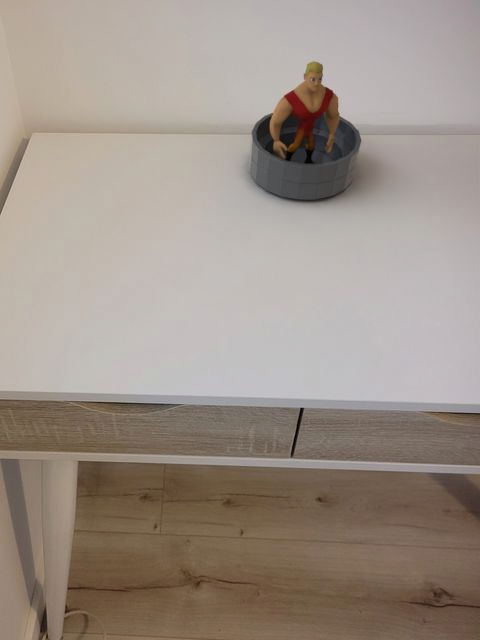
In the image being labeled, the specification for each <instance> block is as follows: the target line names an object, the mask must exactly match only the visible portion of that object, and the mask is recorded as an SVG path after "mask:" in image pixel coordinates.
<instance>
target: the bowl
mask: <svg viewBox="0 0 480 640" xmlns="http://www.w3.org/2000/svg"><path fill="white" fill-rule="evenodd" d="M324 113H325V112H324ZM324 113H323V114H322V115H321V116H320V117H319V118H318V119H316V120H315V121H314V127H313V143H314V148H315V149H314V152H313V154H312V157H311V159H312V161H313V162H314V163H315V164H305V163H304V162H305V159H306V150H305V145H306V143H307V140H306V136H304V138H303V140H302V142H301V144H300V145H299V147H298V148H297V150H296V152H295V153H294V154H293V155H292V157H291V161H286V152H287V151H285V150H284V149H283V148H282V149H283V153H284V156H285V159H281V158H280V157H279V156H278V155H277V154H276V153H275V152H274V150H273V145H274V140H273V138H272V136H271V133H270V121H271V118H272V115H273V112H271V113H268V114H266V115H264V116H263V117H262V118H260V119H259V120H258V121H256V122H255V124H254V126H253V128H252V130H251V136H250V147H249V158H248V159H249V160H248V167H249V168H248V170H249V174H250V176H251V177H252V179H253V180H254V182H255V183H256V184H258V185H259V186H260V187H262V188H263V189H264V190H266V191H267V192H269V193H272V194H275V195H276V196H279V197H283V198H289V199H293V200H319V199H323V198H329V197H332V196H334V195H336V194H338V193H339V194H340V193H341V192H343V191H344V190H345V189H346V188H347V187H348V186H349V185H350V184H351V183H352V181H353V178H354V175H355V170H356V169H355V168H356V165H357V162H358V158H359V153H360V149H361V144H362V137H361V133H360V131H359V129H358V128H357V127H356V126H354V124H353V123H352V122H350V120H347V119H345V118H344V117H343V116H341V115H340V120H339V124H338V127H337V130H336V132H335V134H334V136H335V139H334V143H333V145H332V150H331V152H330V153H327V151H325V149H324V148H325V147H326V146H328V145H327V142H328V140H329V134H330V131H329V129H328V126H327V123H326V120H325V115H324ZM298 125H299V120H298V118H296V117H295V116H292V115H289V116H288V117H287V118H286V120H285V121H284V122H283V124H282V126H281V131H280V135H279V140H280V141H281V142H282V143H283V144H284V145H285V146H286V147H287V149H288V147H289V146H290V145H291V144H293V143H294V142H295V138H296V134H297V128H298Z"/></svg>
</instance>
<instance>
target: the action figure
mask: <svg viewBox="0 0 480 640" xmlns="http://www.w3.org/2000/svg"><path fill="white" fill-rule="evenodd" d="M323 71H324V65H323V63H321V62H318V61H310V62H308V63H307V64H306V68H305V72H304V73H303V80H304V81H302V82H301V83H299V84H298V85H297V86H296V87H295V88H294V89H292V90H291V91H289V92H287V93H286V94H284V95H283V96H282V97H281V98H280V99H279V101H278V103H277V104H276V106H275V108H274V110H273V112H272V113H273V115H272V118H271V121H270V133H271V136H272V138H273V140H274V145H273V150H274V152H275V153H276V154H277V155H278V156H279V157H280V158H281V159H285V156H284V153H283V149H284V150H285V151H287V152H286V161H291V157H292V155H293V154H294V153H295V152H296V150H297V148H298V147H299V145H300V144H301V142H302V140H303V138H304V136H306V140H307V143H306V145H305V150H306V159H305V162H304V163H305V164H315V163H314V162H313V161H312V159H311V157H312V154H313V152H314V149H315V148H314V143H313V127H314V121H315V120H316V119H318V118H319V117H320V116H321V115H322V114H323V113H324V112H325V113H324V115H325V120H326V123H327V126H328V129H329V131H330V134H329V140H328V142H327V145H328V146H326V147H325V148H324V149H325V151H327V153H330V152H331V150H332V145H333V143H334V139H335V136H334V134H335V132H336V130H337V127H338V124H339V120H340V116H341V115H340V112H339V97H338V96H337V94H336V93H334V91H333V90H332V89H330V88H329V87H327V86H325V85H323V83H322V82H323V77H324V74H323V73H324V72H323ZM289 115H292V116H295V117H296V118H298V120H299V125H298V128H297V134H296V138H295V142H294V143H293V144H291V145H290V146H289V147H288V149H287V147H286V146H285V145H284V144H283V143H282V142H281V141H280V140H279V135H280V131H281V126H282V124H283V122H284V121H285V120H286V118H287V117H288V116H289ZM282 148H283V149H282Z"/></svg>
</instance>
